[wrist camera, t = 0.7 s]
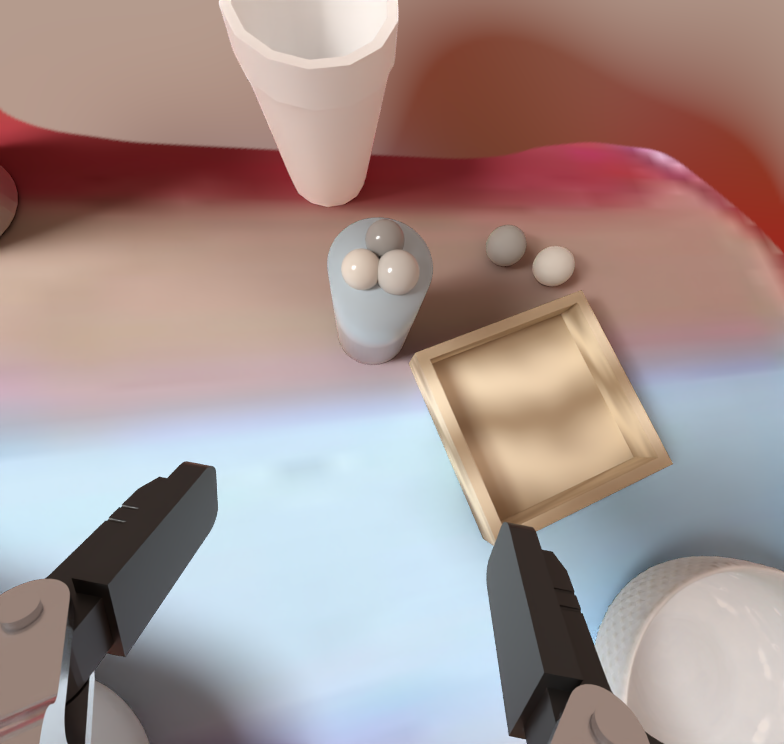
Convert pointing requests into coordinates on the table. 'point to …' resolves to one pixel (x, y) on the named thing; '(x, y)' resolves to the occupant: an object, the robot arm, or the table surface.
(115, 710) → the ice cube tray
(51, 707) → the robot arm
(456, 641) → the table surface
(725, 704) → the cereal bowl
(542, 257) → the pebble
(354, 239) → the pebble jar
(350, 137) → the foam cup
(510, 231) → the pebble
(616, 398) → the birch tray
